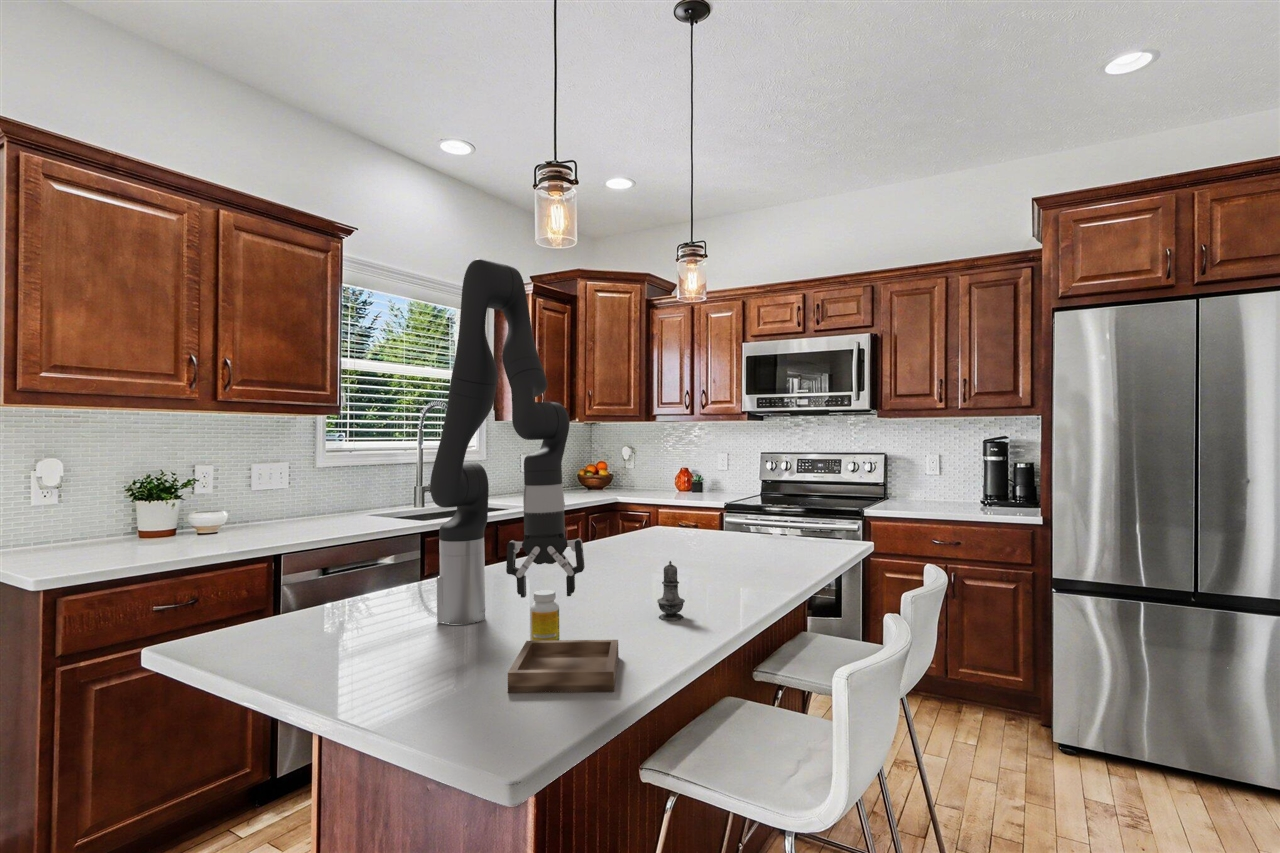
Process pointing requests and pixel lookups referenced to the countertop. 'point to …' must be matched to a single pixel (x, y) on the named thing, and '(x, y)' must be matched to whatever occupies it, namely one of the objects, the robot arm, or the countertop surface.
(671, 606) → the salt shaker
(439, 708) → the countertop surface
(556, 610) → the supplement bottle
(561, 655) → the tray
